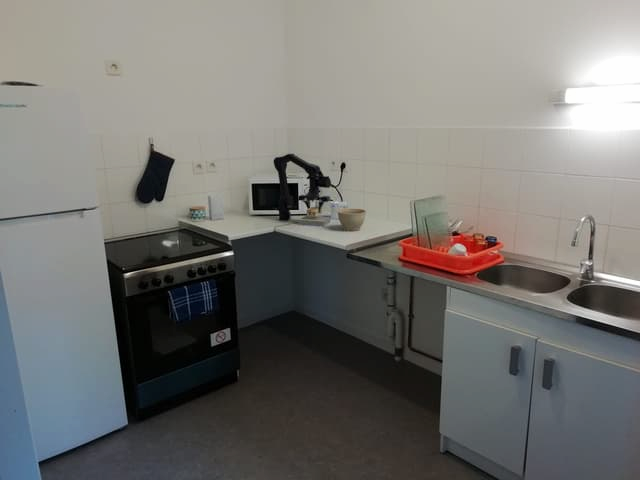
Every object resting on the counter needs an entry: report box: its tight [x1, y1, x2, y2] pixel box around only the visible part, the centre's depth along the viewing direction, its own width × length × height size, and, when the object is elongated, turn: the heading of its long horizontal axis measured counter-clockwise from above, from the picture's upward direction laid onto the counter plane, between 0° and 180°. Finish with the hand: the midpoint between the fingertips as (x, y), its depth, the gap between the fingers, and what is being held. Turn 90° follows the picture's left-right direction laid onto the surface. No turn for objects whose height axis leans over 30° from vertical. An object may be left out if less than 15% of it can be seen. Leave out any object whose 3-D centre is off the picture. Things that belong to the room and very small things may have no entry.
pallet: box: [306, 206, 323, 217], centre depth 302 cm, size 6×10×4 cm, turn 161°
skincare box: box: [207, 193, 225, 222], centre depth 315 cm, size 8×7×16 cm
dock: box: [298, 215, 331, 227], centre depth 303 cm, size 16×13×3 cm
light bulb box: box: [330, 200, 348, 220], centre depth 317 cm, size 11×7×11 cm, turn 84°
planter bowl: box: [338, 208, 367, 232], centre depth 286 cm, size 16×16×11 cm
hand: (314, 212), depth 302 cm, fingers closed on pallet, 6 cm apart
